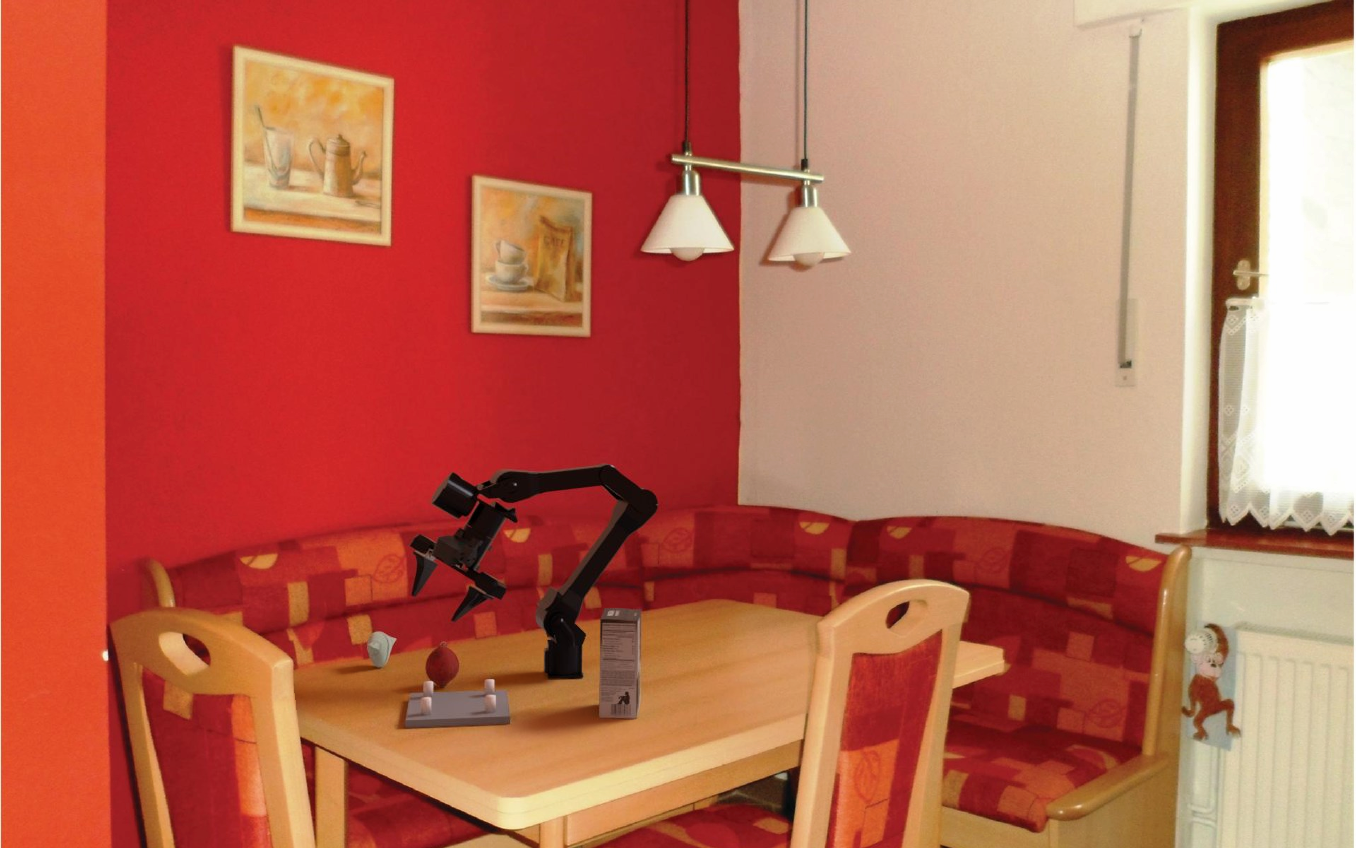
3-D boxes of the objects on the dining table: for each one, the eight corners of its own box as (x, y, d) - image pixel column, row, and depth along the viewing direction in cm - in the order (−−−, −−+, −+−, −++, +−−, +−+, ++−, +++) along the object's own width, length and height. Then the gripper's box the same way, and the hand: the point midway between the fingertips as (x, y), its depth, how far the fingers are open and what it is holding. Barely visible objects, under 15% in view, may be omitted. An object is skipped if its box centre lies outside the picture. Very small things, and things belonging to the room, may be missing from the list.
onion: (442, 693, 193) (442, 647, 193) (418, 688, 197) (418, 642, 196) (465, 686, 198) (466, 641, 198) (441, 681, 201) (442, 637, 201)
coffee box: (603, 703, 189) (604, 607, 188) (641, 703, 189) (642, 608, 188) (597, 718, 180) (598, 618, 179) (637, 719, 179) (639, 618, 179)
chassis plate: (506, 696, 192) (507, 675, 192) (510, 724, 176) (510, 700, 176) (410, 700, 189) (410, 678, 189) (405, 728, 173) (405, 704, 173)
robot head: (376, 673, 207) (376, 636, 206) (357, 671, 208) (357, 635, 208) (399, 663, 214) (399, 628, 214) (380, 662, 215) (381, 626, 215)
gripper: (420, 497, 197) (371, 575, 194) (503, 547, 191) (455, 628, 188) (446, 512, 207) (400, 586, 205) (526, 560, 201) (480, 637, 198)
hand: (432, 608), depth 199 cm, fingers open, 9 cm apart
